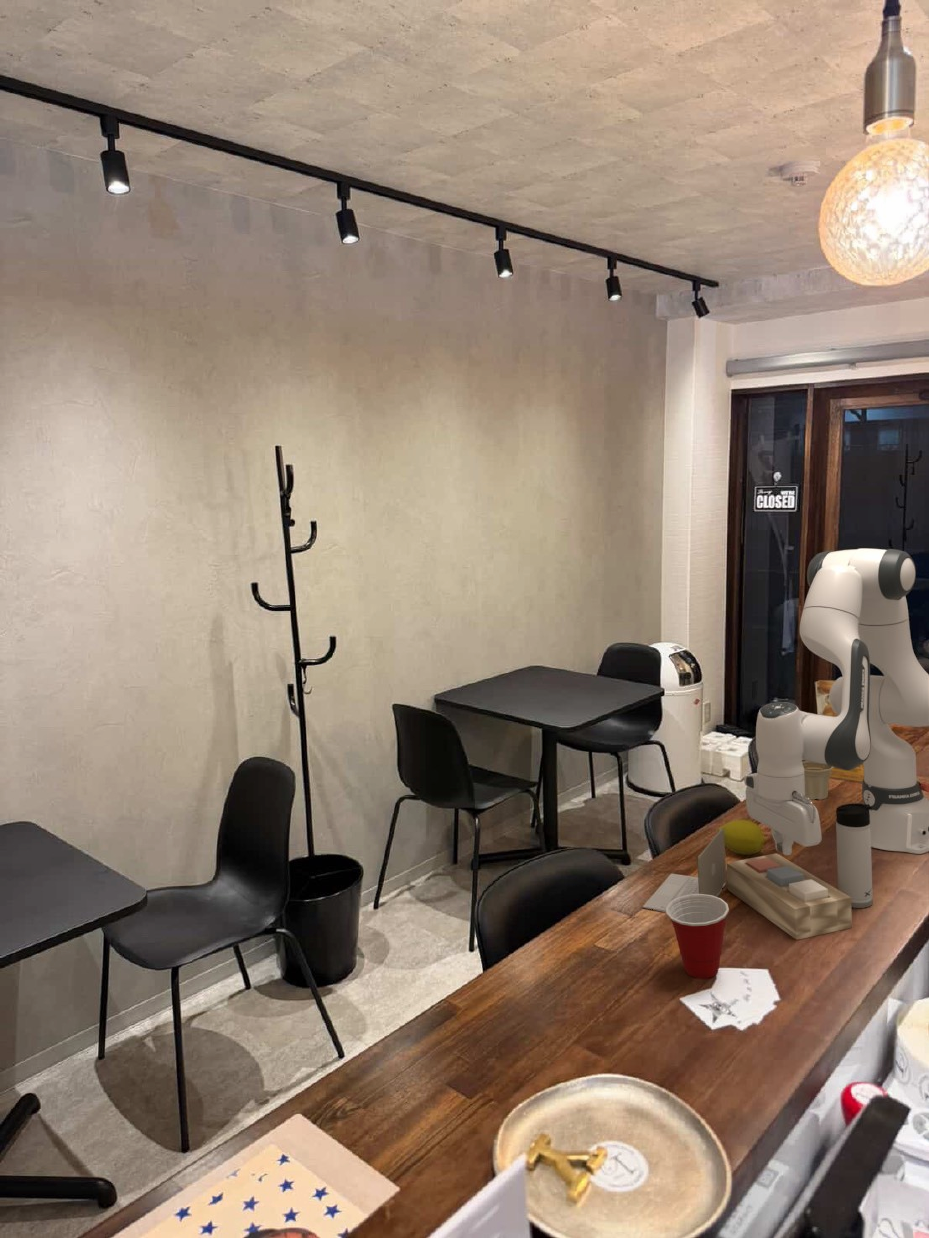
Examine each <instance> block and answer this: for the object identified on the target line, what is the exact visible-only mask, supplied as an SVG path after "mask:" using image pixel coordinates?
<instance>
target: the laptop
mask: <svg viewBox="0 0 929 1238" xmlns="http://www.w3.org/2000/svg"><path fill="white" fill-rule="evenodd" d="M725 846H726V845H725V843H724V828H722V829H721V830H720V831H719V832H718V831H717V833H716V835H715V836H714V837H713V838H712V839H711V841H710V842H709V843H708V844H707V845H706V847H705V848H704V849H703V851H702V852H700V853H699V855H698V856H697V858H696V861H697V877H696V876H690V875H684V874H676V873H670V874H669V875H668V877H667V878H665V880H664V881H663V882H662V883H661V884H660V886H659V887H658V888H657V889H656V891H655V892H654V893H653V894H652V895H651V896H650V898H648V900H647V901H646V902H645V903H644V904H643V905H642V908H645V909H648V910H652V909H653V911H658V912H663V913H666V907H667V905H668V904H669V903H670V902H671V901H672V900H674V899H676V898H678V897H681V896H685V895H691V894H705V895H713V896H715V897H718V896H719V895H720V893H721V892H722V891H723V889H722V888H724V887H725V886H727V862H726V848H725Z"/></svg>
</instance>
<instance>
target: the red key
mask: <svg viewBox="0 0 929 1238" xmlns="http://www.w3.org/2000/svg"><path fill="white" fill-rule="evenodd" d="M746 863H747V866H749V867H751V868H752V869H754V870H755V871H757V872H758V873H763V872H767V869H773V868H778V867H781V866H780V865H779V864H777V863H776V862H774V861H772V860H771V859H769V858H763V859H757V860H752V861H747V862H746Z"/></svg>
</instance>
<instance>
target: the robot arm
mask: <svg viewBox="0 0 929 1238" xmlns="http://www.w3.org/2000/svg"><path fill="white" fill-rule="evenodd" d="M806 577H807V578H806V579H807V584H808V586H809V589H808V592H807V595H806V598H805V601H804V605H803V609H802V613H801V617H800V622H799V637H800V639H801V641H802V642H803V645H805V647H807V649H808V650H809V651H810V652H812V654H814V655H816V656H818V657H820V658H821V659H824V660H825V661H827V662H830V663H831V664H834V665H835V666H837V668H839V670H840V672H841V675H842V676H840V677H838V678H837V679H836V680H834V681H835V682H834V683H833V685H832V687H831V689H830V693H829V701H830V705H831V707H832V709H833V711H834V712H835V713H836V715H838V716H837V717H832V716H824V715H817V714H816V713H814V712H813V713H812V712H806V711H802V710H800V709H799V707H798V706H797V704H795V703H792V702H789V701H788V702H787V701H776V702H771V703H767V704H765V705H763V706H762V707H761V708H760V709H759V711H758V713H757V717H756V726H755V749H756V753H757V756H758V763H757V767H756V771H757V772H755V773H750V774H746V775H744V776H743V782H744V785H745V786H746V789H745V805H746V811H747V814H748V816H749V817H750V818H751V819H753V820H755V821H757V822H758V823H760V824H763V825H764V826H766V827H768V828H769V829H770V833H771V836H772V838H773V841H774V845H775V850H776V851H777V852H778V853H781V854H782V855H784V856H790V855H791V854H792V852H793V848H792V847H793V844H794V842H795V843H797V844H798V845H800V846H802V847H812V846H817V845H820V843H821V842H822V829H821V828H822V827H821V822H820V820H821V819H820V816H819V814H820V813H819V811H818V809H817V807H816V806H815V805H814V803H813V801H812V800H811V799H810V798H808V797H806V796H805V775H804V767H803V764H802V762H803V761H804V762H807V761H809V762H814V763H820V764H826V765H829V766H832V767H835V768H839V769H843V770H847V771H849V770H852V769H854V768H856V767H858V766H859V765H861V764H862V763H863V769H864V779H863V780H862V783H861V791H862V792H861V794H862V795H861V797H862V800H863V804H864V805H865V804H869V805H870V806H871V808H872V810H869V814H870V830H871V848H874V849H879V850H884V851H892V852H904V853H910V854H917V855H922V854H925V853H928V852H929V799H928V798H927V797H926V796H925V794H924V792H926V793H928V794H929V783H927V782H924V781H923V782H922V783H921V782H920V781H918V780H917V754H916V751H915V750H914V747H913V746H912V745H911V744H910V743H909V742H908V741H906V740H904V739H903V738H901V737H899V736H898V735H896V733H895V732H894V731H893V730H892V729H891V726H890V725H896V726H903V727H915V728H918V727H921V728H922V727H929V673H928V672H927V671H926V670H925V669H924V667H923V666H922V665H921V664H920V662H919V661H918V658H917V657H916V655H915V653H914V649H913V644H912V643H913V642H912V639H911V638H912V637H911V629H910V620H909V619H910V617H909V609H908V602H907V598H906V596H907V595H908V594H909V593H910V592H911V591H912V589H913V587H914V586H915V582H916V564H915V562H914V559H913V558H912V557H911V555H910V554H908V552H907V551H903V550H900V549H895V548H888V549H882V548H881V549H880V548H865V547H864V548H857V549H843V550H836V551H835V550H827V551H822V552H819V553H817V554H816V555H814V557H813V558H812V559H811V560H810V562H809V564H808V567H807V571H806ZM871 665H873V666H875V667H876V668H877V669H878V670H879V671H880V672H881V673H882V675H873V674H871ZM923 791H924V792H923Z"/></svg>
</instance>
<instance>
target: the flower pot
mask: <svg viewBox="0 0 929 1238" xmlns="http://www.w3.org/2000/svg"><path fill="white" fill-rule="evenodd" d="M802 764H803V767H804V775H805V796H806V797H808V798H810V799H811V801H812V800H813V801H815V800H820V801H821V800H824V799H827V798H828V797H829V796H828V794H829V786H830V785H829V784H830V779H831V778H830V774H831V770H832V769H833V767H832V766H829V765H826V764H820V763H814V762H809V761H802Z"/></svg>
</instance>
